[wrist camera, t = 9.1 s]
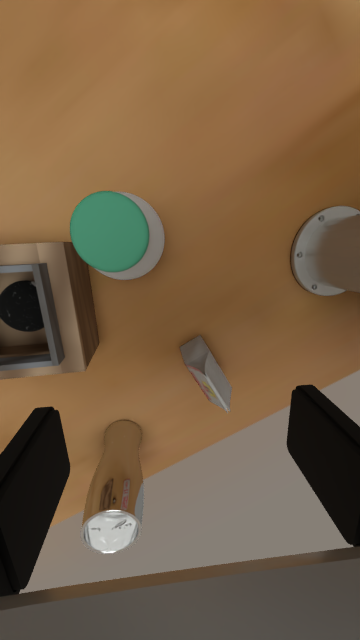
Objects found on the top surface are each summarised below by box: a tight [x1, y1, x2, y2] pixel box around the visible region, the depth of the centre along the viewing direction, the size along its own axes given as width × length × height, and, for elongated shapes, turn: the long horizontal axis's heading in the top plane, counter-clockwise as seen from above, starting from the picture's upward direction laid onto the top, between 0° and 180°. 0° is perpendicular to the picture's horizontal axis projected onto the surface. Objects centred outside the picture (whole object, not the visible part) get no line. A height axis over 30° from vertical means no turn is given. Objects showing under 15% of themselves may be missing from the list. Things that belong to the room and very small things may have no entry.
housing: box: [0, 242, 99, 380], centre depth 29 cm, size 14×14×11 cm
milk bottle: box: [70, 191, 165, 280], centre depth 24 cm, size 8×8×20 cm
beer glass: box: [80, 420, 144, 554], centre depth 35 cm, size 7×7×15 cm
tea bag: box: [180, 335, 232, 413], centre depth 35 cm, size 4×7×10 cm, turn 31°
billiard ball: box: [0, 280, 44, 332], centre depth 30 cm, size 6×6×6 cm
